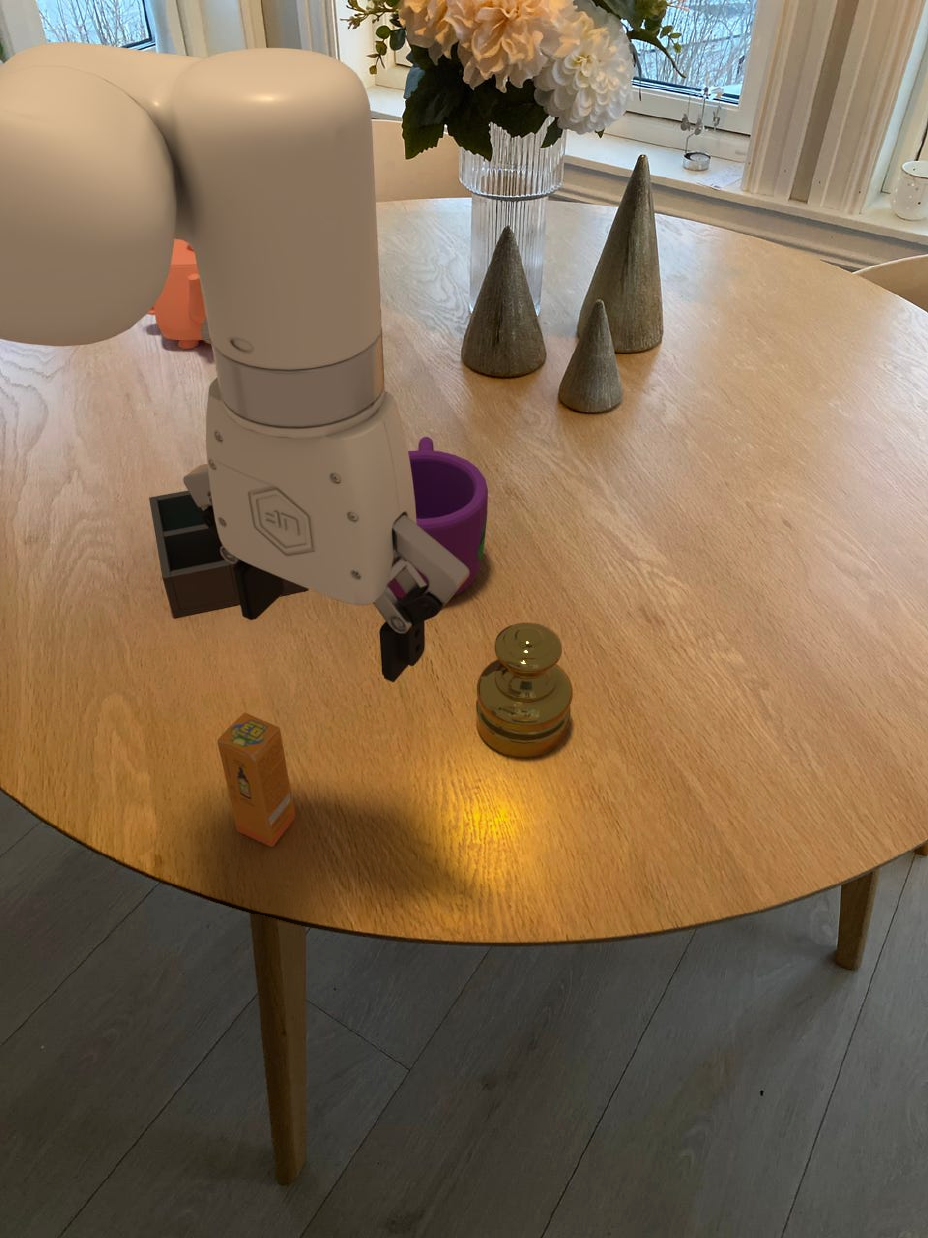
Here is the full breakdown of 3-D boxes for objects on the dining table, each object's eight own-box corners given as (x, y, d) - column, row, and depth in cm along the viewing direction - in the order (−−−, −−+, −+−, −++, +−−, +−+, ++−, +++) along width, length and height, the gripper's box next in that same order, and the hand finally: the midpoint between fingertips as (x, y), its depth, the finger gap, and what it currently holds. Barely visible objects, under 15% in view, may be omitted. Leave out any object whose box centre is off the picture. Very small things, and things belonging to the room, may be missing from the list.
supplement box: (300, 815, 70) (284, 726, 63) (272, 850, 68) (252, 763, 61) (263, 797, 71) (243, 708, 64) (234, 831, 69) (211, 743, 62)
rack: (173, 618, 85) (162, 578, 82) (159, 536, 93) (148, 497, 90) (307, 590, 88) (302, 550, 85) (282, 513, 96) (276, 474, 93)
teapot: (210, 373, 116) (191, 272, 107) (124, 331, 123) (100, 233, 114) (299, 329, 124) (288, 231, 116) (214, 292, 132) (198, 197, 123)
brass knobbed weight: (579, 751, 75) (593, 663, 68) (487, 767, 74) (491, 679, 67) (553, 683, 80) (563, 594, 73) (466, 696, 79) (468, 608, 72)
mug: (486, 613, 86) (489, 525, 79) (359, 612, 86) (351, 524, 79) (483, 497, 99) (485, 412, 92) (372, 496, 98) (367, 411, 92)
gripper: (99, 353, 44) (172, 621, 56) (421, 462, 38) (426, 736, 50) (207, 291, 49) (253, 550, 61) (507, 380, 43) (493, 647, 55)
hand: (331, 634), depth 55 cm, fingers open, 9 cm apart
